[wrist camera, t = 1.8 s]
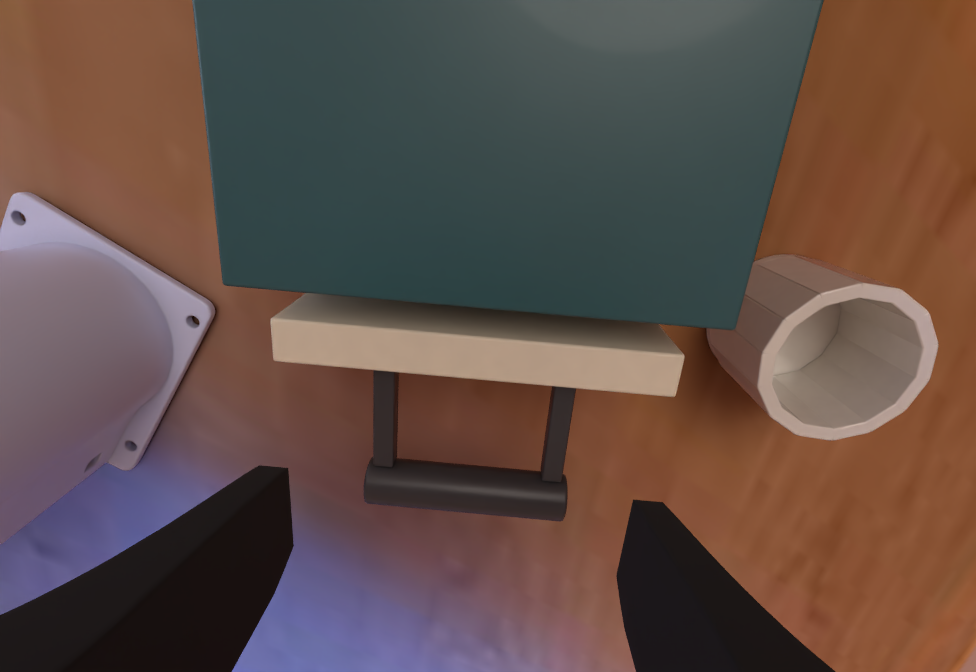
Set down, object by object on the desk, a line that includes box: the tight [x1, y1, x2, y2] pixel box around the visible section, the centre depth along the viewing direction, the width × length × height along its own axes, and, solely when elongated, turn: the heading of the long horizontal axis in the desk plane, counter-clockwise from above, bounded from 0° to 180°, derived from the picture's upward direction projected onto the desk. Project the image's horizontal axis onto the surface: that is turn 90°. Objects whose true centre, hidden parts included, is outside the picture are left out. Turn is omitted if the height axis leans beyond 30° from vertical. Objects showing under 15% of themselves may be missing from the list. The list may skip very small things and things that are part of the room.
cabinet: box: [192, 0, 824, 330], centre depth 13 cm, size 14×12×8 cm
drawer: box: [271, 293, 685, 521], centre depth 15 cm, size 17×10×6 cm, turn 175°
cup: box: [706, 254, 938, 441], centre depth 17 cm, size 5×5×4 cm
